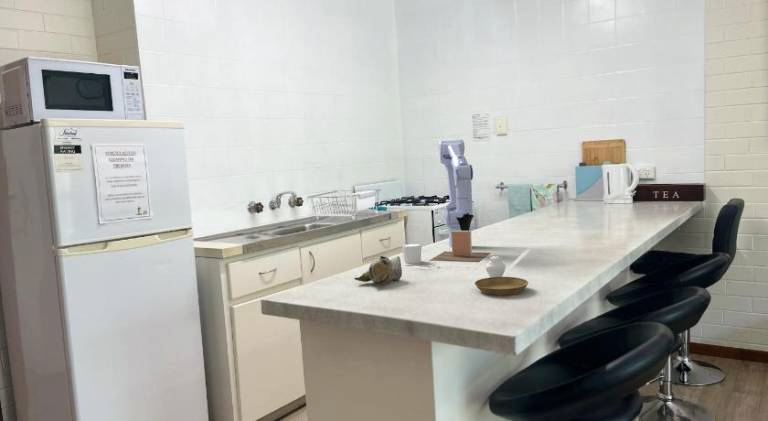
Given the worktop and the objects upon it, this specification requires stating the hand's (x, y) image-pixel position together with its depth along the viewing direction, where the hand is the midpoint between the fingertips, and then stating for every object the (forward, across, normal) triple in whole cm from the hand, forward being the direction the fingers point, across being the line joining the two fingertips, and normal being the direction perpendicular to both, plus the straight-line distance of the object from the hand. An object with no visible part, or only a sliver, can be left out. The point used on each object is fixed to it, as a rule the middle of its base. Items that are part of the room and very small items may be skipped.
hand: (465, 234), depth 220 cm
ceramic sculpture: (+8, +47, -13) cm, 50 cm away
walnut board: (+8, +7, 0) cm, 11 cm away
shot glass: (+8, +19, -14) cm, 25 cm away
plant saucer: (+8, +49, +24) cm, 55 cm away
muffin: (+8, +34, +19) cm, 40 cm away
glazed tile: (+7, +5, 0) cm, 9 cm away
